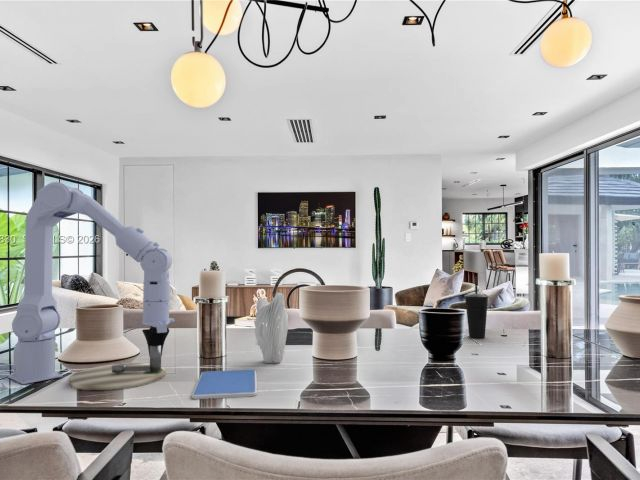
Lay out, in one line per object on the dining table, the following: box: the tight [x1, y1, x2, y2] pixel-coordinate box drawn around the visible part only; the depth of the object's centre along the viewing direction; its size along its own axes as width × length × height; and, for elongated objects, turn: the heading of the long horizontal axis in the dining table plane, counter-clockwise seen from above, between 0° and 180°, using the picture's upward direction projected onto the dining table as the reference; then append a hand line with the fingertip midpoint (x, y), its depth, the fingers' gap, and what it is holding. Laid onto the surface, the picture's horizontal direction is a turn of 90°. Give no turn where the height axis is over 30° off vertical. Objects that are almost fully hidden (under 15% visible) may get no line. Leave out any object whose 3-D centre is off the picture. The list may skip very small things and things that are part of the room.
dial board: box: [67, 362, 167, 391], centre depth 104 cm, size 20×20×1 cm
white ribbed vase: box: [254, 292, 289, 364], centre depth 119 cm, size 8×8×18 cm
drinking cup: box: [463, 275, 490, 340], centre depth 152 cm, size 8×8×20 cm
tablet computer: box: [190, 369, 258, 400], centre depth 99 cm, size 19×13×1 cm, turn 8°
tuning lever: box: [112, 345, 162, 373], centre depth 105 cm, size 11×3×6 cm, turn 94°
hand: (155, 359), depth 107 cm, fingers closed
